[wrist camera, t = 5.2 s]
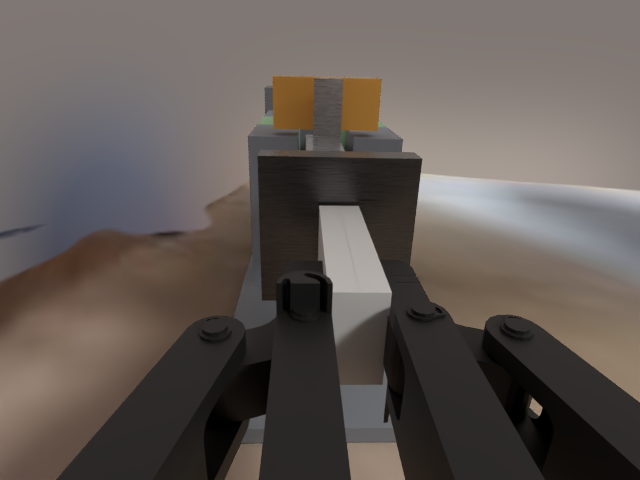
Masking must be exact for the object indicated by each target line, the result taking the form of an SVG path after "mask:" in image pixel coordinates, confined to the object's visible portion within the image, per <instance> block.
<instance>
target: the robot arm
mask: <svg viewBox="0 0 640 480" xmlns="http://www.w3.org/2000/svg"><path fill="white" fill-rule="evenodd" d="M384 369H385V373H386V377H387V390H386V399H385V409H384V423H388V418H389V415H390V418H391V422H392V426H393V430H394V434H395V438H396V442H397V447H398V451H399V455H400V459H401V463H402V467H403V472H404V476H405V480H640V403H639V402H638V401H637V400H636V399H634V398H633V397H632V396H630V395H629V394H628V393H626V392H625V391H624V390H622V389H621V388H620V387H618V386H617V385H616V384H615V383H613V382H612V381H611V380H609V379H608V378H607V377H605V376H604V375H603V374H601V373H600V372H599V371H598V370H596V369H595V368H594V367H592V366H591V365H590V364H588V363H587V362H586V361H584V360H583V359H582V358H581V357H579V356H578V355H577V354H575V353H574V352H573V351H571V350H570V349H569V348H567V347H566V346H565V345H563V344H562V343H561V342H560V341H558V340H557V339H556V338H554V337H553V336H552V335H550V334H549V333H548V332H546V331H545V330H544V329H543V328H541V327H540V326H538V325H536V324H535V323H533V322H531V321H529V320H526V319H524V318H522V317H519V316H513V315H496V316H493V317H490V318H489V319H488V320H487V321H486V324H485V329H484V330H481V329H476V328H470V327H465V326H461V325H457V324H455V323H454V321H453V319H452V318H451V316H450V314H449V313H448V312H447V311H446V310H445V309H444V308H443V307H441V306H439V305H437V304H435V303H432V302H430V301H429V299H428V297H427V295H426V293H425V291H424V289H423V287H422V286H421V284H420V282H419V280H418V278H417V277H416V274H415V272H414V270H413V269H412V267H411V266H409V265H408V264H406V263H405V262H404V261H402V260H379V258H378V255H377V252H376V250H375V247H374V245H373V242H372V239H371V237H370V234H369V232H368V229H367V226H366V224H365V221H364V218H363V216H362V213H361V211H360V208H359V206H319V233H318V261H306V260H291V261H290V262H289V263H288V264H287V265H286V266H285V267H284V268H283V276H281V277H280V278H279V279H278V280H277V282H276V317H275V318H274V319H273V320H272V321H270V322H269V323H267V324H265V325H262V326H259V327H255V328H251V329H246V330H245V327H244V325H243V323H242V322H240V321H239V320H238V319H236V318H232V317H228V316H213V317H207V318H204V319H201V320H199V321H197V322H195V323H193V324H192V325H191V326H190V327H188V328H187V329H186V331H185V332H184V333H183V334H182V335H181V336H180V337H179V339H178V340H177V341H176V342H175V343H174V344H173V346H172V347H171V348H170V349H169V350H168V351H167V352H166V354H165V355H164V356H163V357H162V358H161V359H160V361H159V362H158V363H157V364H156V365H155V366H154V367H153V369H152V370H151V371H150V372H149V373H148V374H147V376H146V377H145V378H144V379H143V380H142V381H141V382H140V384H139V385H138V386H137V387H136V388H135V389H134V391H133V392H132V393H131V394H130V395H129V396H128V397H127V399H126V400H125V401H124V402H123V403H122V404H121V406H120V407H119V408H118V409H117V410H116V411H115V412H114V414H113V415H112V416H111V417H110V418H109V419H108V421H107V422H106V423H105V424H104V425H103V426H102V427H101V429H100V430H99V431H98V432H97V433H96V434H95V436H94V437H93V438H92V439H91V440H90V441H89V442H88V444H87V445H86V446H85V447H84V448H83V449H82V451H81V452H80V453H79V454H78V455H77V456H76V457H75V459H74V460H73V461H72V462H71V463H70V464H69V466H68V467H67V468H66V469H65V470H64V471H63V472H62V474H61V475H60V476H59V477H58V478H57V479H56V480H224V479H225V477H226V475H227V472H228V470H229V468H230V466H231V464H232V462H233V459H234V457H235V455H236V453H237V451H238V449H239V446H240V444H241V442H242V440H243V438H244V435H245V433H246V431H247V429H248V426H249V421H250V419H251V418H255V417H258V416H262V415H266V418H265V427H264V437H263V446H262V456H261V465H260V475H259V480H351V476H350V468H349V459H348V450H347V442H346V433H345V424H344V416H343V407H342V398H341V390H340V385H383V375H384ZM532 397H533V398H534V399H535V400H536V401H537V402H538V403H539V404H540V405H541V406H542V407H543V409H542V412H541V415H540V416H538V415H537V414H536V413H534V412H533V411H532V410H531V409H530V408H529V407H530V403H531V400H532Z"/></svg>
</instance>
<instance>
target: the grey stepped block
mask: <svg viewBox="0 0 640 480" xmlns="http://www.w3.org/2000/svg"><path fill="white" fill-rule="evenodd" d="M306 135H313V130H306V129H273V86H267V87H265V116H264V117H263V118H262V119H261V120H260V122H259V123H258V124H257V125H256V127H255V128H254V129H253V131H252V132H251V133H250V134H249V136H248V148H249V149H248V150H249V175H250V201H251V227H252V253H251V256H250V260H249V264H248V267H247V271H246V274H245V278H244V281H243V285H242V288H241V292H240V295H239V299H238V302H237V306H236V309H235V313H234V316H233V318H236V319H238V320H239V321H240V322H242V323H243V325H244V327H245V330H246V329H251V328H255V327H259V326H262V325H265V324H267V323H269V322H270V321H272V320H273V319H274V318H275V317H276V301H262V289H261V257H260V225H259V193H258V161H257V155H258V154H259V152H260V150H306ZM402 142H403V139H402V138H400V137H399V136H398V135H396V134H395V133H394V132H392V131H391V130H390V129H389V128H387V127H386V126H385V125H383V124H382V123H381V122H379V121H378V131H353V130H341V144H342V146H343V148H344V150H345V151H359V152H402ZM340 390H341V398H342V407H343V416H344V424H345V433H346V442H396V438H395V434H394V430H393V426H392V422H391V418H390V415H389V418H388V423H384V409H385V399H386V390H387V377H386V373H385V369H384V375H383V385H340ZM265 418H266V415H262V416H258V417H255V418H251V419H250V421H249V426H248V429H247V431H246V433H245V435H244V438H243V440H242V442H241V443H263V437H264V427H265Z"/></svg>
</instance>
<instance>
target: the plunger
mask: <svg viewBox="0 0 640 480" xmlns="http://www.w3.org/2000/svg"><path fill="white" fill-rule="evenodd" d="M342 98H343V78H314V102H313V135H306V150H260V152H259V154H258V155H257V161H258V193H259V225H260V257H261V289H262V301H276V282H277V280H278V279H279V278H280V277H281V276H283V268H284V267H285V266H286V265H287V264H288V263H289V262H290V261H291V260H306V261H318V233H319V206H359V208H360V211H361V213H362V216H363V218H364V221H365V224H366V226H367V229H368V232H369V234H370V237H371V239H372V242H373V245H374V247H375V250H376V252H377V255H378V258H379V260H402V261H404V262H405V263H406V264H408V265H409V266H410V258H411V249H412V241H413V233H414V224H415V216H416V207H417V199H418V190H419V182H420V173H421V165H422V158H420V157H419V156H418V155H417V154H415V153H411V152H410V153H409V152H359V151H345V150H344V148H343V146H342V144H341V121H342Z"/></svg>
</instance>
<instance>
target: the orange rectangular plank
mask: <svg viewBox="0 0 640 480" xmlns="http://www.w3.org/2000/svg"><path fill="white" fill-rule="evenodd" d="M314 78H343V98H342V121H341V130H353V131H378V120H379V119H378V118H379V106H380V93H381V80H382V79H378V78H351V77H314V76H276V75H275V76H273V129H306V130H313V102H314Z"/></svg>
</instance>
